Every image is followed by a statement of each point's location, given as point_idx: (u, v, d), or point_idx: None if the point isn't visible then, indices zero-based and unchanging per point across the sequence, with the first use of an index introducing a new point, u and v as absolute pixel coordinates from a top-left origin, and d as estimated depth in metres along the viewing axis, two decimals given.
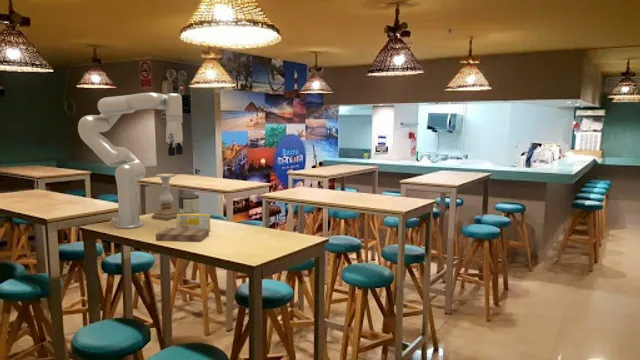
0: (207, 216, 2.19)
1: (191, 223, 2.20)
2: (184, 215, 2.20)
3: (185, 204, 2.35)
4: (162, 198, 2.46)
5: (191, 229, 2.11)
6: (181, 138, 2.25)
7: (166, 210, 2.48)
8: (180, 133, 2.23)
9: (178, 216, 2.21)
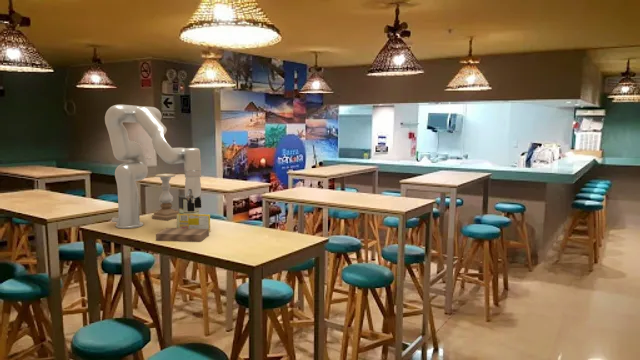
0: (207, 216, 2.19)
1: (191, 223, 2.20)
2: (184, 215, 2.20)
3: (185, 204, 2.35)
4: (162, 198, 2.46)
5: (191, 229, 2.11)
6: (200, 192, 2.22)
7: (166, 210, 2.48)
8: (199, 187, 2.20)
9: (178, 216, 2.21)
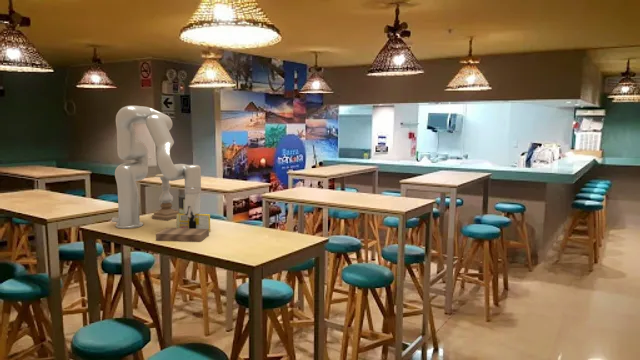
0: (207, 216, 2.19)
1: None
2: (184, 215, 2.20)
3: None
4: (162, 198, 2.46)
5: (191, 229, 2.11)
6: (199, 208, 2.23)
7: (166, 210, 2.48)
8: (198, 204, 2.21)
9: (178, 216, 2.21)
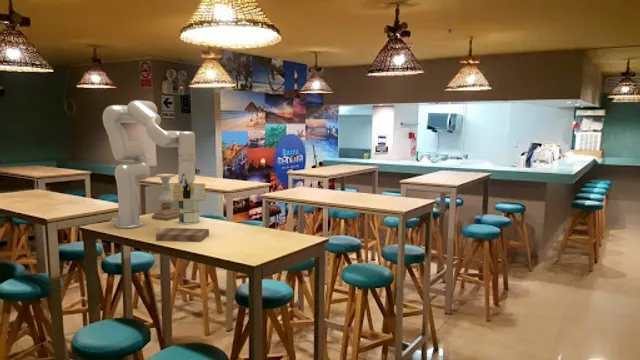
0: (202, 184, 2.11)
1: None
2: (178, 184, 2.11)
3: (185, 204, 2.35)
4: (162, 198, 2.46)
5: (191, 229, 2.11)
6: (193, 177, 2.14)
7: (166, 210, 2.48)
8: (193, 172, 2.12)
9: (171, 185, 2.11)
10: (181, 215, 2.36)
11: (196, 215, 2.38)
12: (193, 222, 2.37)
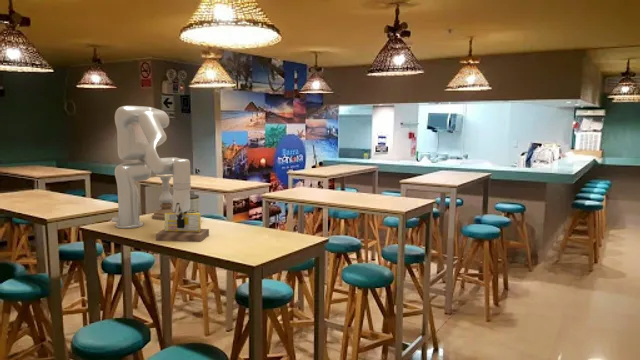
0: (197, 215, 2.05)
1: None
2: (172, 214, 2.06)
3: None
4: (162, 198, 2.46)
5: None
6: (189, 205, 2.08)
7: (166, 210, 2.48)
8: (188, 201, 2.06)
9: (166, 215, 2.07)
10: None
11: None
12: None
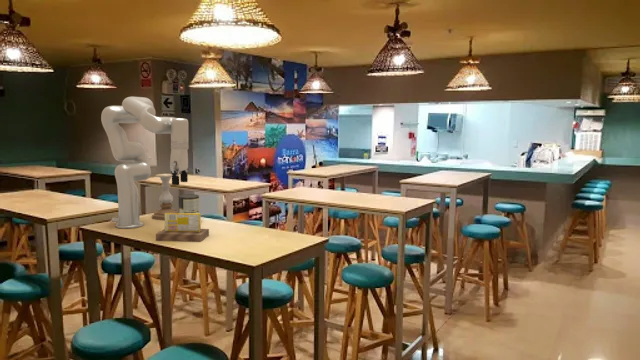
0: (197, 215, 2.05)
1: (180, 223, 2.06)
2: (172, 214, 2.06)
3: (185, 204, 2.35)
4: (162, 198, 2.46)
5: None
6: (186, 165, 2.10)
7: (166, 210, 2.48)
8: (185, 160, 2.08)
9: (166, 215, 2.07)
10: None
11: None
12: None
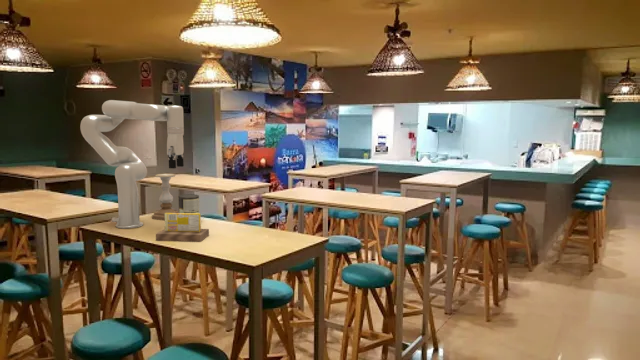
0: (197, 215, 2.05)
1: (180, 223, 2.06)
2: (172, 214, 2.06)
3: (185, 204, 2.35)
4: (162, 198, 2.46)
5: None
6: (182, 150, 2.23)
7: (166, 210, 2.48)
8: (181, 145, 2.21)
9: (166, 215, 2.07)
10: None
11: None
12: None
